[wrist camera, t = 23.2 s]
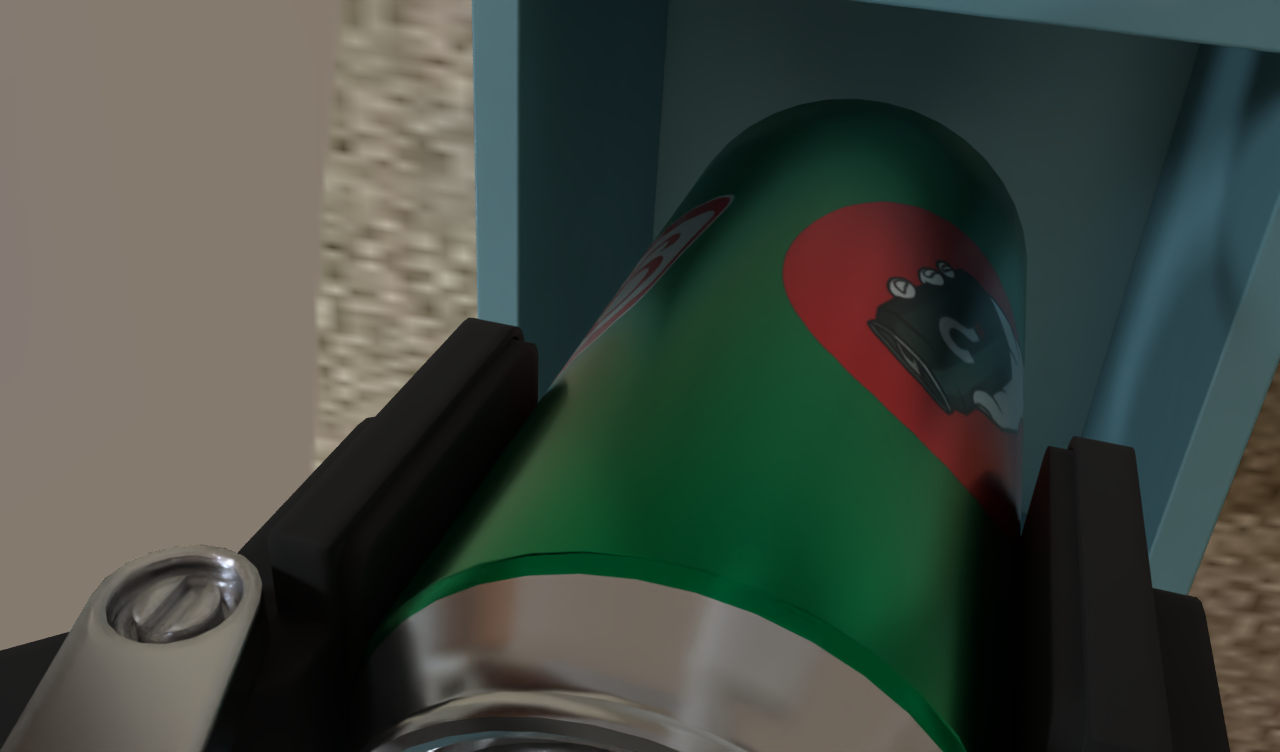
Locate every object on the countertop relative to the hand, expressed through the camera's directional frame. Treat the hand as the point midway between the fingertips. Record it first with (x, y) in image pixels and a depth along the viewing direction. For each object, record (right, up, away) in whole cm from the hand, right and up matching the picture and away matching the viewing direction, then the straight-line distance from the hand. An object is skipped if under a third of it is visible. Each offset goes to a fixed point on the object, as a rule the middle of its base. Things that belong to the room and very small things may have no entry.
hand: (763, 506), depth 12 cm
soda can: (+2, +3, +6) cm, 7 cm away
